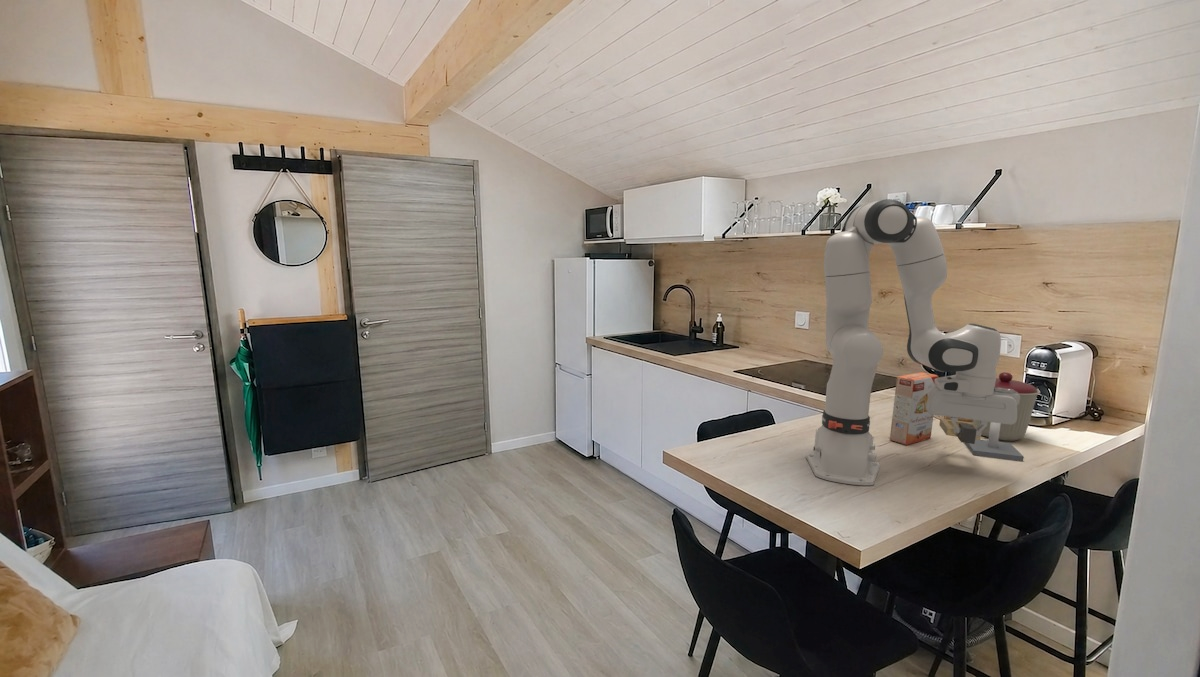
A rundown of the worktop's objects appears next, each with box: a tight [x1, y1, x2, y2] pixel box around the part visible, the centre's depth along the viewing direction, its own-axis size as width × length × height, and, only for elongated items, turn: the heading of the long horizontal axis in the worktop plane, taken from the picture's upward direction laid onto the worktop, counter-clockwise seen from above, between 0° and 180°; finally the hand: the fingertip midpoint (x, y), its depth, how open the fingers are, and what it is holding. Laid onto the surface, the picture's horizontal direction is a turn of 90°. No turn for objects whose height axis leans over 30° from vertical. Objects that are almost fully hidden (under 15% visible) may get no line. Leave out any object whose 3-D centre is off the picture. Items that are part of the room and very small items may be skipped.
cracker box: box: [889, 371, 939, 446], centre depth 169 cm, size 14×6×21 cm, turn 121°
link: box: [939, 418, 982, 444], centre depth 150 cm, size 15×8×4 cm, turn 158°
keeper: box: [963, 422, 1024, 462], centre depth 160 cm, size 12×12×12 cm
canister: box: [972, 372, 1041, 442], centre depth 174 cm, size 18×18×21 cm
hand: (966, 434), depth 146 cm, fingers closed on link, 3 cm apart
